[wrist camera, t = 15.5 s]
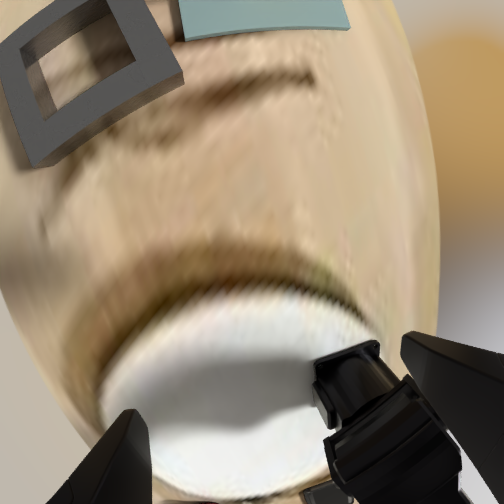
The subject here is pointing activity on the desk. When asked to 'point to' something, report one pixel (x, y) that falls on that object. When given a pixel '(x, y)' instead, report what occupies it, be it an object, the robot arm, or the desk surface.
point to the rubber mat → (259, 16)
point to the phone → (326, 494)
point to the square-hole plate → (94, 99)
